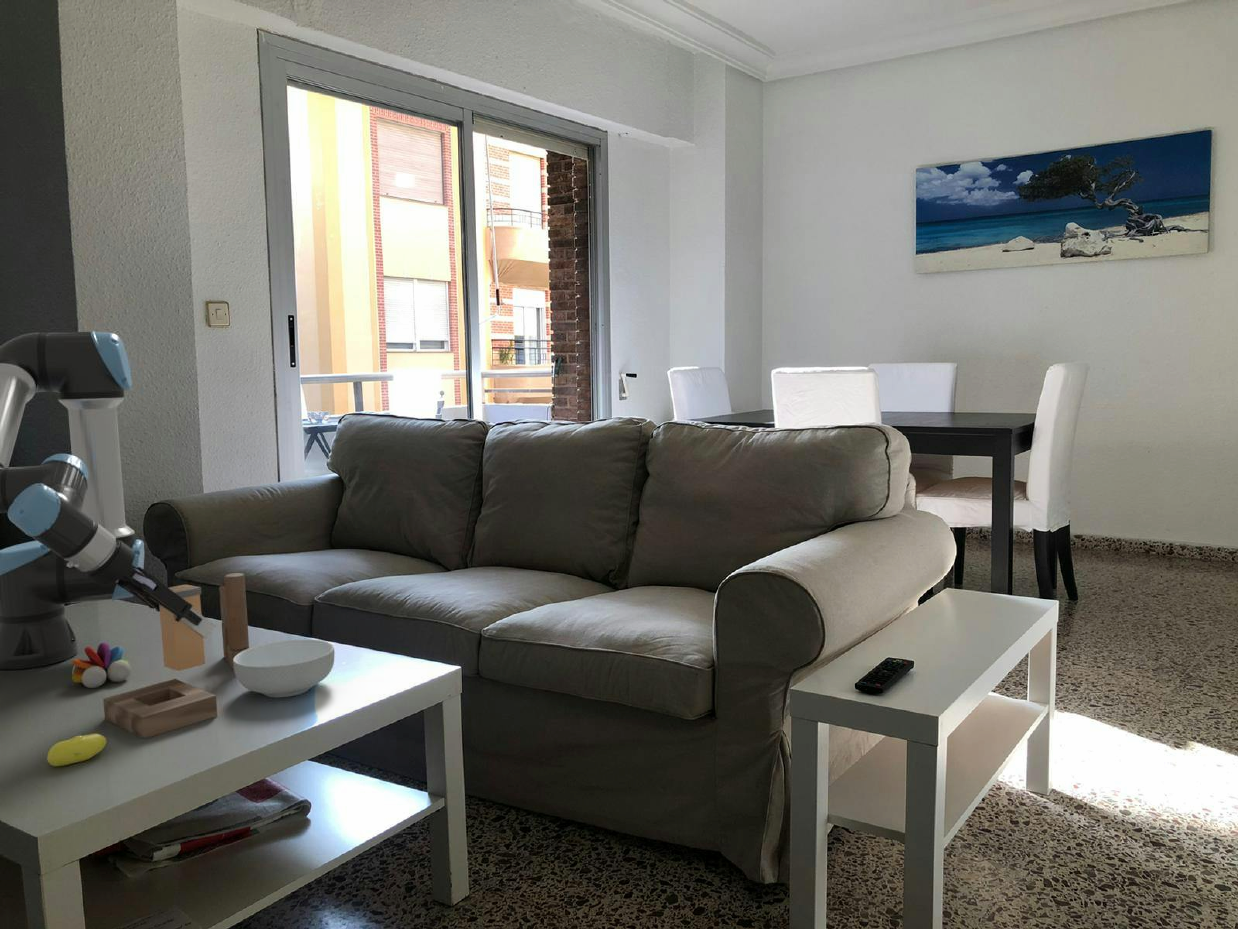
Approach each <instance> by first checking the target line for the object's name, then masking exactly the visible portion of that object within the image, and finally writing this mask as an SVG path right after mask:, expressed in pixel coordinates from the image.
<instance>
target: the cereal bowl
mask: <svg viewBox="0 0 1238 929" xmlns="http://www.w3.org/2000/svg"><path fill="white" fill-rule="evenodd" d="M334 662H335V647H334V645H333V644H332V643H331V642H328V641H325V640H320V639H311V638H310V639H305V638H303V639H300V638H299V639H290V640H289V639H287V640H280V641H274V642H267V643H263V644H260V645H255V646H253V647H249V649H247V650H244V651H242V652H240V653H239V654H237V655H236V656H235V657H234V659H233V666H234V670H233V671H234V675H235V677H236V679H237V681H238V682H239V684H240V685H242V687H243V688H246V689H247V690H250V691H252V692H255V693H258V694H263V695H264V696H266V697H269V698H279V699H280V698H287V697H294V696H298V695H301V694H305V692H307V691H309V690H310V689H311V688H312V687H314V686H315V685H317V684H319V683H320V682H322V681H324V680H326V678H327V677H328V675H330V673H331V672H332V669H333V667H334Z"/></svg>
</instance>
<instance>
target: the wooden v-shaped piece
mask: <svg viewBox="0 0 1238 929" xmlns="http://www.w3.org/2000/svg"><path fill="white" fill-rule="evenodd" d="M223 578H224V580H223V581H224V586H219V588H218V590H219V605H220V606H219V607H220V617H221V619H220V620H221V634H222V649H223V650H222V651H223V656H224V658H225V659H226V661H227V663H228V664H229V666H230V668H231V669H232V670H233V671H234V666H233V659H234V657H235V656H236V655H237V654H239V653H240V652H242V651H244V650H247V649H249V648H250V642H249V640H250V639H249V638H250V636H249V628H248V627H249V624H248V623H249V622H248V611H247V610H248V608H247V597H246V596H247V594H246V579H245V574H244V573H241V572H235V573H228V574H225V575H224V577H223Z"/></svg>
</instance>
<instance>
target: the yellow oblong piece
mask: <svg viewBox="0 0 1238 929" xmlns="http://www.w3.org/2000/svg"><path fill="white" fill-rule="evenodd" d="M106 744H107V738H106V737H105V736H104V735H102V734H100V733H89V734H85V735H80V734H79V735H76V736H73V737H71V738H70V739H66V740H62V741H59V742H56V743H55V744H53V745H52V746H51V747H50V749H49V751H48V752H47V756H46V758H47V761H48V763H49V765H50V766H53V767H62V766H69V765H72V764H75V763H80V762H83V761H87V760H90V759H91V758H93V757H94V756H95V755H97V754H98V753H99V752H101V751H102V750H103V749H104V748H105V746H106Z"/></svg>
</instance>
